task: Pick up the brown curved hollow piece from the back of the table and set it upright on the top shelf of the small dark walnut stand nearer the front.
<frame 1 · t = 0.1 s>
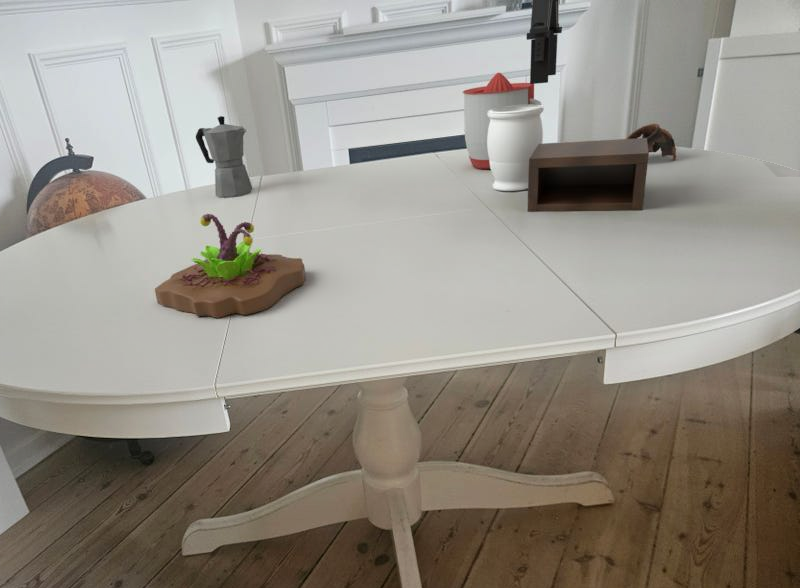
hand: (543, 79, 108), 20 cm above the table, tool pointing down, fingers open, 13 cm apart
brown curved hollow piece: (649, 160, 135), on the table
plant: (233, 291, 92), on the table
coffeepot: (231, 194, 156), on the table
jar: (513, 188, 127), on the table
stand: (585, 200, 112), on the table
citrus juicer: (501, 165, 148), on the table
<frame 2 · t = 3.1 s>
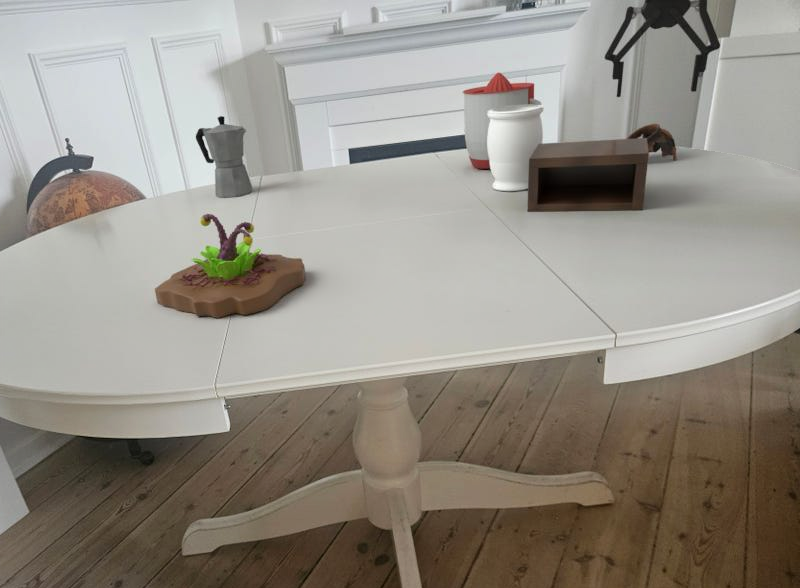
hand: (655, 93, 129), 13 cm above the table, tool pointing down, fingers open, 13 cm apart
nothing on the table moved.
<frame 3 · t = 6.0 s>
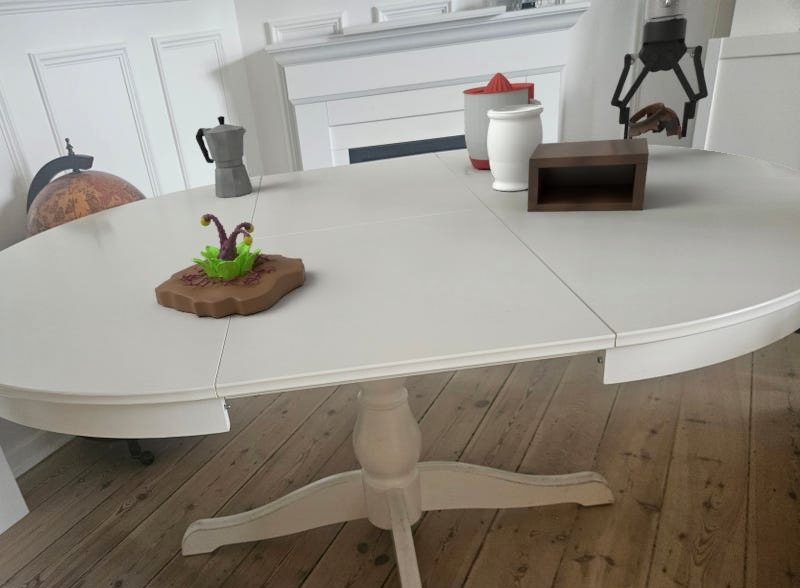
hand: (653, 138, 132), 4 cm above the table, tool pointing down, fingers closed on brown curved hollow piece, 10 cm apart
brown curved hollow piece: (654, 140, 132), point 4 cm above the table, touching gripper
everything else where it was.
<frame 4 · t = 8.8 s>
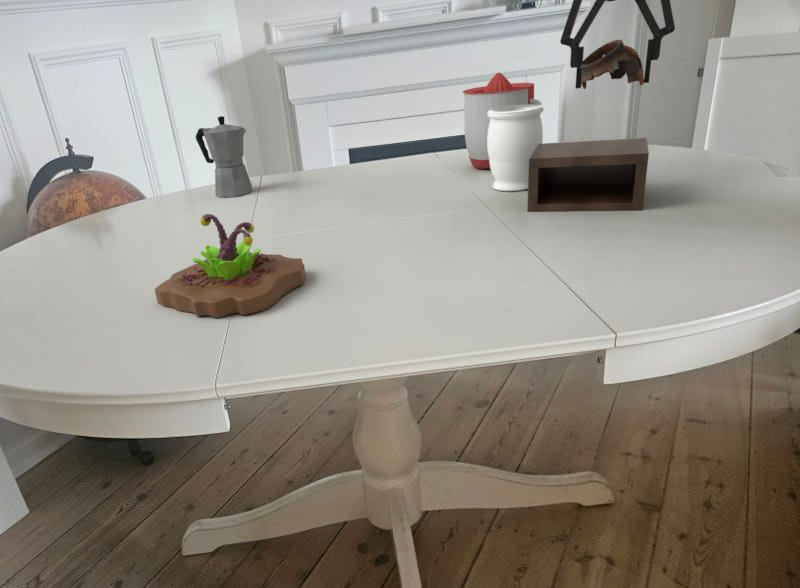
hand: (611, 84, 110), 18 cm above the table, tool pointing down, fingers closed on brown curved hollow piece, 10 cm apart
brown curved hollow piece: (612, 87, 110), point 17 cm above the table, touching gripper
everything else where it was.
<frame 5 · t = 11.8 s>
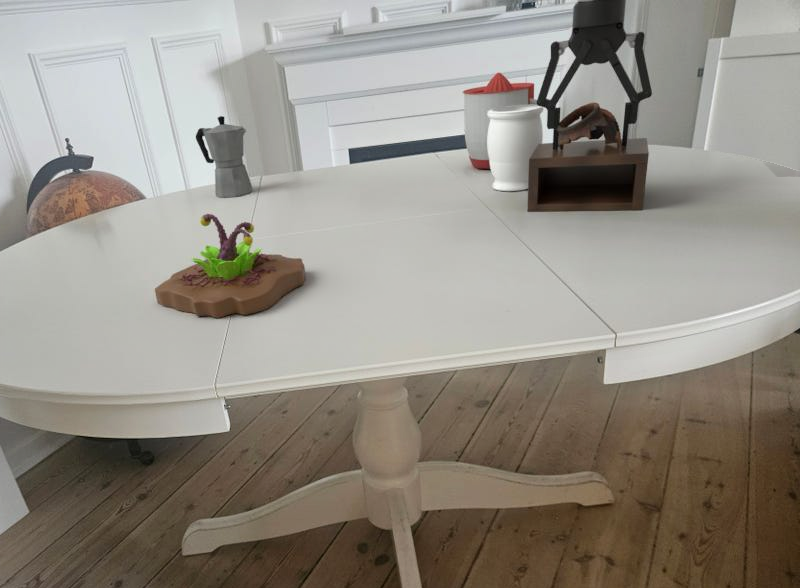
hand: (589, 146, 108), 9 cm above the table, tool pointing down, fingers closed on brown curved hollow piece, 10 cm apart
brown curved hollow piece: (589, 149, 108), point 9 cm above the table, touching gripper, stand
everything else where it was.
when the fingers open (9 cm above the table, at t = 12.1 s): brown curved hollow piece stays where it is, resting on stand.
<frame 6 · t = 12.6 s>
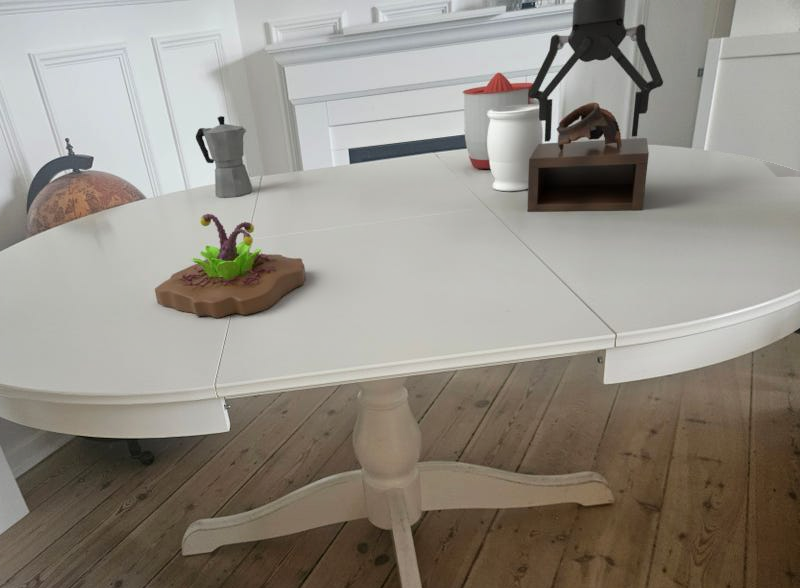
hand: (589, 137, 107), 11 cm above the table, tool pointing down, fingers open, 13 cm apart
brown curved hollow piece: (589, 149, 108), point 9 cm above the table, touching stand
everything else where it was.
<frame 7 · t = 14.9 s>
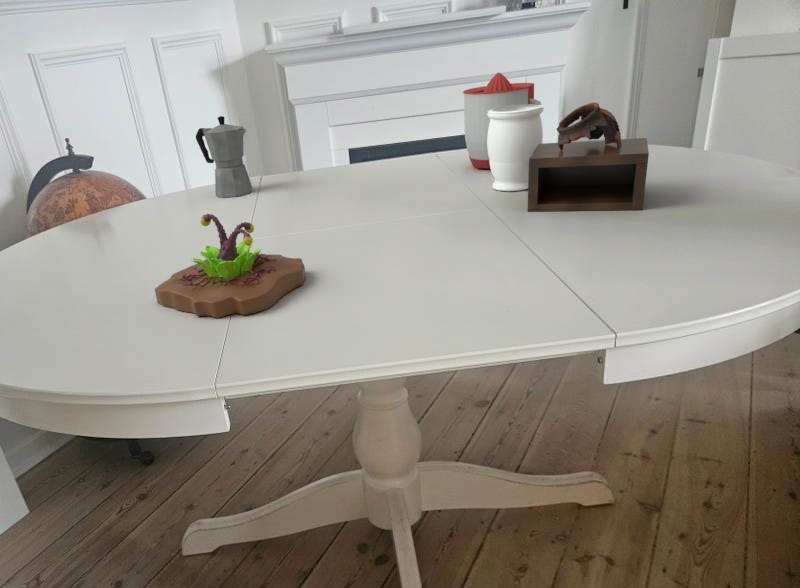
hand: (670, 2, 105), 30 cm above the table, tool pointing down, fingers open, 13 cm apart
nothing on the table moved.
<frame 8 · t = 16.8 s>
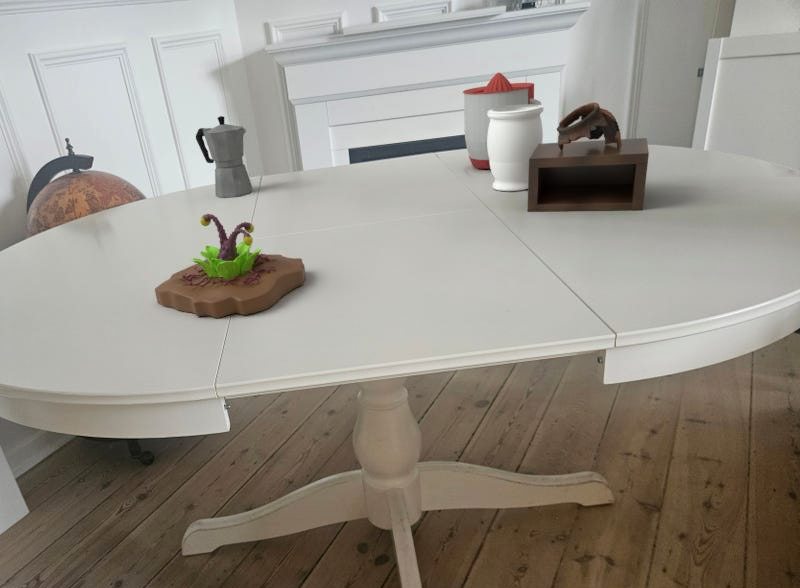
nothing on the table moved.
at the end: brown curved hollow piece inside the target area on the stand (0.1 cm from its centre), point 8.8 cm above the stand's base; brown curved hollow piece tilted 0°; the gripper is holding nothing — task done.
